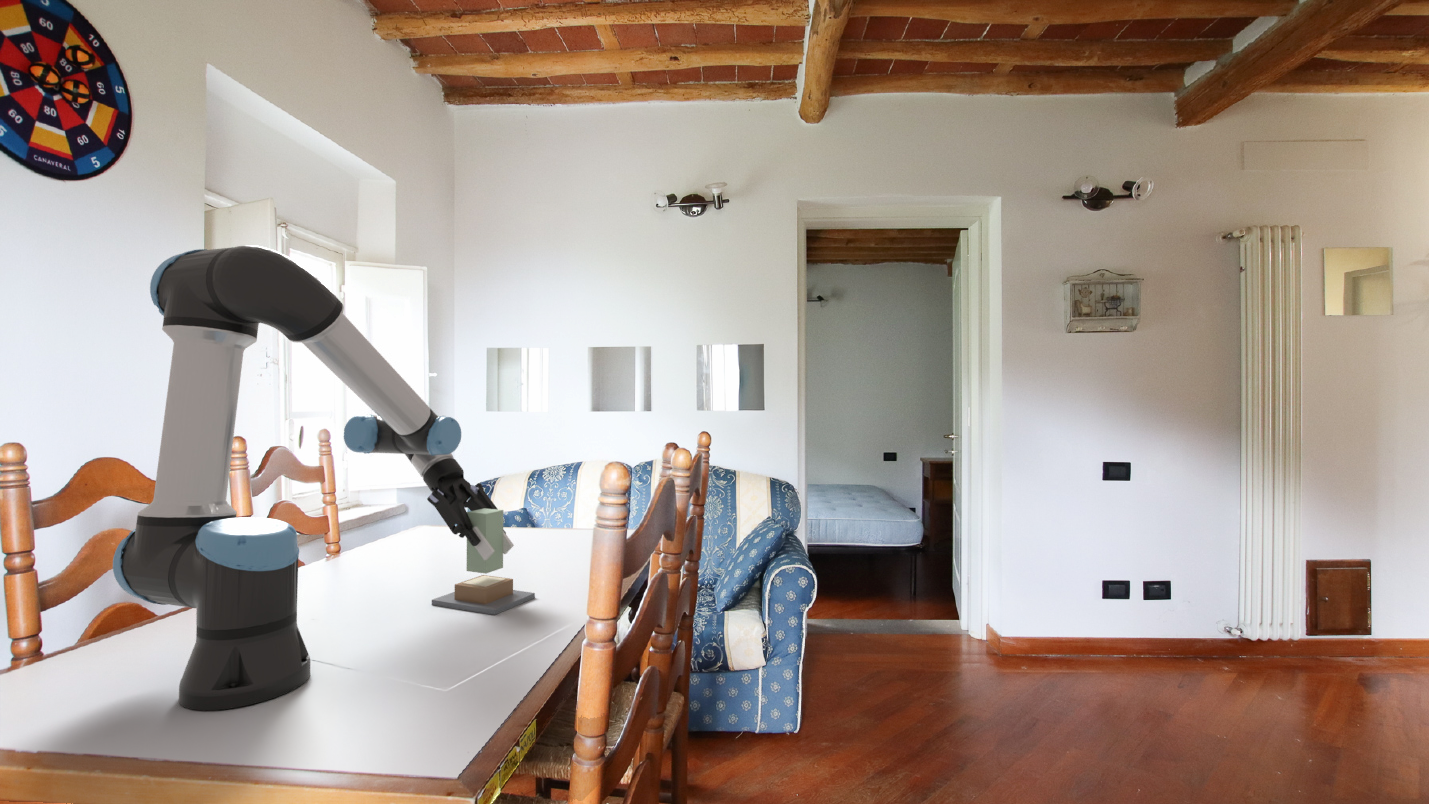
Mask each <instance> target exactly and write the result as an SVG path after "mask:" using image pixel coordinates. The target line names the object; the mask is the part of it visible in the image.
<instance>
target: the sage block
mask: <svg viewBox="0 0 1429 804" xmlns="http://www.w3.org/2000/svg"><path fill="white" fill-rule="evenodd" d="M466 512H467V514H468V516H469V519H470V521H471V523H472V526H473V527H472V529H473V528H474V527H476V526H477V527H478V529H479V530H480V531H481V533H482V534H483V536H484V537H485V538H486V540H487V541H488V542H489V544H490V545H491V547H492V548H493V549H494V553H493V554H492V555H491V556H490V557H489V558H488V559H487V560H485V561H484V559H483V558H482V556H481V555H480V554H479V552H478V551H477V549H476V548H475V547H474V546H473V545H471V543H470V542H469V540H468V539H467V538H466V572H470V573H471V572H472V573H478V574H479V573H480V574H484V575H485V574H489V573H491V572H495V571H498V570H500V569H503V568H504V553H503V529H504V509H498V508H497V509H486V508H484V509H479V510H474V511H471V510H470V511H466Z"/></svg>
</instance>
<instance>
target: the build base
mask: <svg viewBox="0 0 1429 804" xmlns="http://www.w3.org/2000/svg"><path fill="white" fill-rule="evenodd" d="M535 598H536V593H535V592H531V591H523V590H515V589H514V578H510V577H509V578H508V577H501V576H494V575H485V574H481V575H479V576H476V577H473V578H470V579H468V580H467V579H466V580H464V581H461V582H458V583H455V584H454V591H453V592H450V593H447V594H445V595H441V596H439V597H436V598H433V599H431V605H432V606H436V607H444V608H450V609H455V610H461V611H468V612H472V613H473V612H474V613H480V614H487V615H492V616H496V615H498V614H501V613H503V612H505V611H507V610H510V609H511V608H512V609H513V608H515V607H517V606H519V605H521V604H523V603H526V602H528V601H530V600H531V601H532V600H533V599H535Z"/></svg>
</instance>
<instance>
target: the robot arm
mask: <svg viewBox="0 0 1429 804" xmlns="http://www.w3.org/2000/svg"><path fill="white" fill-rule="evenodd" d="M149 284H150V285H149V291H150V298H151V301H152V302H153V305H154V306H156V307H157V309H158V313H160V314H161V316H163V319H162V320H163V323H162V328H161V329H162V331H163V332H164V333H165V334H166V335H167V336H168V337H169V339H171V340H172V342H173V347H172V355H171V362H170V363H171V364H170V369H169V377H168V385H167V393H166V401H165V409H164V416H163V421H162V423H163V424H162V430H161V438H160V439H161V440H160V447H159V453H158V454H159V456H158V461H157V462H158V464H157V468H156V469H157V470H156V478H155V485H154V486H155V487H154V493H153V500H152V501H151V503H150V504H148V505H147V506H145V507H143V509H141V510H140V511H138V512H137V516H136V517H137V518H136V522H135V523H136V524H135V528H134V529H133V530H131V531H129V532H128V535H127V536H126V537H124V538H123V539H122V540H121V541H120V542H119V544H118V545H117V547H116V549H115V552H114V555H113V559H112V572H113V576H114V578H115V580H116V582H117V584H118V585H119V587H120V588H121V589H122V590H123V591H125V592H126V593H127V594H128V595H130V596H132V597H134V598H137V599H140V600H142V601H145V602H148V603H150V604H157V605H163V606H164V605H170V606H176V607H177V606H178V607H184V608H191V609H192V608H193V609H196V614H195V615H196V620H195V621H196V631H195V632H196V634H195V635H196V636H195V643H194V646H193V648H192V651H191V654H190V656H189V659H188V661H187V663H186V667H185V669H184V671H183V674H182V677H181V678H180V681H179V685H178V702H179V704H180V706H182V707H184V708H186V709H189V710H197V711H219V710H227V709H233V708H234V709H235V708H241V707H245V706H246V707H247V706H249V705H254V704H258V703H261V702H265V701H268V700H271V699H274V698H275V699H276V698H277V697H280V696H282V695H284V694H287V693H289V692H291V691H294V690H296V689H298V687H300V686H302V685H303V684H304V683H305V682H307V680H309V678H310V676H311V657H310V655H309V651H308V649H307V647H306V644H305V642H304V640H303V636H302V633H301V632H300V631H301V630H300V629H299V626H298V591H299V590H298V584H299V582H298V580H299V555H300V548H299V543H298V542H299V541H298V534H297V530H296V529H295V527H294V526H293V525H292V524H290V523H288V522H286V521H283V520H280V519H276V518H270V517H269V518H268V517H251V516H248V517H247V516H243V517H242V516H240V517H237V515H238V513H237V510H235V509H234V507H232V506H231V505H230V504H229V503H228V501H227V495H228V494H227V493H228V489H229V479H230V469H231V462H232V453H233V445H234V435H235V427H236V418H237V412H238V411H237V410H238V402H239V401H238V400H239V393H240V384H241V376H242V368H243V357H244V351H245V350H246V349H247V348H249V347H251V346H252V345H253V344H255V343H257V341H258V334H259V333H258V331H259V325H260V324H264V325H266V326H269V327H271V328H273V329H275V330H277V331H278V332H280V333H281V334H282V335H283V336H284V337H285V338H287V340H289V341H290V342H292V343H301V344H303V345H304V346H305V347H306V348H307V349H308V350H309V351H310V352H311V353H312V354H313V355H314V356H315V357H317V358H318V360H319V361H320V362H322V364H324V365H325V366H326V367H327V368H328V369H329V370H330V372H332V373H333V374H334V375H336V377H337V378H338V379H340V381H342V383H344V384H345V386H347V387H348V388H349V389H350V390H351V391H352V392H353V393H354V394H355V395H356V396H358V398H359V399H360V400H361V401H362V402H363V403H365V404H366V405H367V406H368V407H369V408H370V409H371V410H372V411H373V412H374V413H375V414H376V415H374V414H358V415H357V414H356V415H354V416H352V417H351V418H350V419H348V421H347V422H346V424H345V425H344V429H343V431H344V432H343V440H344V441H343V442H344V444H345V446H346V447H347V448H348V449H349V450H350V451H352V452H354V453H359V454H360V453H361V454H394V455H395V454H396V455H397V454H399V455H405V456H406V458H407V459H408V460H409V462H410V463H411V465H412V466H413V467H414V469H415V470H416V471H417V473H418V475H419V476H420V477H422V480H423V482H424V483H425V485H426V486H427V487H428V488H429V490H430V491H431V493H430V495H429V496H428V497H427V498H426V499H427V501H428V503H430V504H431V505H432V506H433V507H434V508H435V509H436V511H437V512H438V514H439V515H440V517H441V518H442V520H443V521H444V523H445V524H446V525H447V527H448V528H449V529H450V532H451V533H452V534H453V535H455V536H456V535H458V537H459V538H462V539H463V538H464V537H465V538H466V540H467V539H468V540H469V542H470V543H471V545H473V546H474V547H475V548H476V549H477V551H478V552H479V554H480V555H481V556H482V558H483V559H484V561H485V560H487V559H488V558H489V557H490V556H491V555H492V554H493V553H494V549H493V548H492V547H491V545H490V544H489V542H488V541H487V540H486V538H485V537H484V536H483V534H482V533H481V531H480V530H479V529H478V527H477V526H476V527H474V528H473V529H472V527H473V526H472V523H471V521H470V519H469V516H468V514H467V512H468V511H467V509H468V510H470V511H474V510H479V509H484V508H486V509H498V507H497V506H496V505H495V504H494V502H493V501H492V500H491V498H490V497H489V495H488V494H487V493H486V491H485V489H484V487H483V485H482V483H480V482H478V483H476V485H473V484H471V483H470V482H469V481H468V480H466V479H465V477H464V474H465V473H464V472H465V471H464V469H463V468H462V467H461V465H460V464H459V463H458V460H457V459H455V458H454V455H453V454H452V453H454V452H455V451H456V450H457V449H458V448H459V445H460V444H461V441H462V440H461V439H462V429H461V426H460V424H459V422H458V421H457V419H455V418H453V417H452V416H446V415H440V416H439V415H437V414H436V412H434V410H432V408H431V407H430V406H429V405H428V404H427V403H426V402H425V401H424V400H423V399H422V397H420V395H419V394H418V393H417V392H416V391H415V390H414V389H413V388H412V387H411V385H410V384H408V382H407V381H406V380H405V379H404V378H403V377H402V376H401V375H400V374H399V373H398V371H397V370H396V369H395V368H394V367H393V366H392V365H391V363H389V362H388V361H387V360H386V358H385V357H384V356H383V355H382V354H381V353H380V351H378V350H377V349H376V348H375V347H374V345H373V344H372V343H370V341H369V340H368V339H367V337H365V336H364V335H363V333H361V332H360V331H359V329H358V328H357V327H356V325H354V324H353V323H352V321H350V320H349V318H348V317H347V316H346V315H345V314H344V310H345V306H344V304H343V302H341V300H340V299H339V298H338V297H337V296H336V295H335V293H333V292H332V291H331V290H330V288H329V287H327V285H326V284H325V283H323V281H321V280H320V279H319V278H317V276H315V275H314V274H313V273H312V272H310V270H308V269H307V268H306V267H304V266H303V265H301V264H300V263H298V262H297V261H296V260H294V259H292V258H290V257H289V256H288V255H285V254H283V253H281V252H279V251H277V250H274V249H271V248H268V247H264V246H259V245H249V244H248V245H237V246H235V247H234V246H232V247H223V248H222V247H221V248H213V249H206V248H204V249H203V248H199V249H193V250H188V251H185V252H182V253H179V254H175V255H172V256H171V257H169V258H167V259H166V260H164V261H163V262H161V263H160V264H159V265H158V266H157V268H156V269H155V270H154V272H153V273H152V276H151V279H150V283H149ZM466 508H467V509H466ZM514 546H515V545H514V543H513V542H512V540H511V539H510V538H509V536H508V535H507V532H506V531H505V529H504V528H503V555H506V554H508V553H509V551H510V550H512V548H514Z"/></svg>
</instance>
